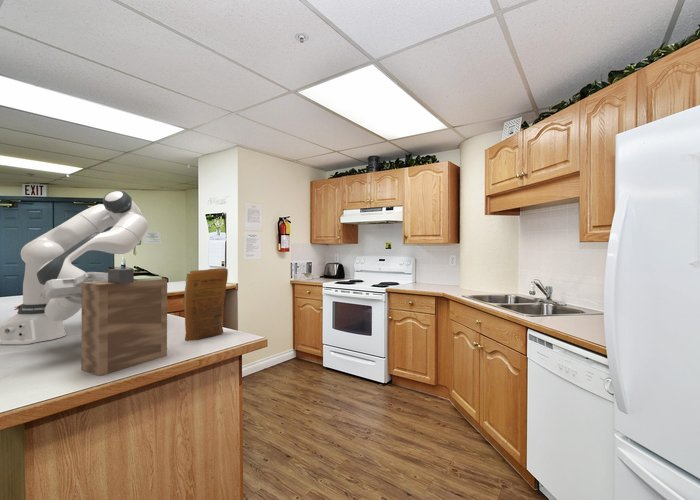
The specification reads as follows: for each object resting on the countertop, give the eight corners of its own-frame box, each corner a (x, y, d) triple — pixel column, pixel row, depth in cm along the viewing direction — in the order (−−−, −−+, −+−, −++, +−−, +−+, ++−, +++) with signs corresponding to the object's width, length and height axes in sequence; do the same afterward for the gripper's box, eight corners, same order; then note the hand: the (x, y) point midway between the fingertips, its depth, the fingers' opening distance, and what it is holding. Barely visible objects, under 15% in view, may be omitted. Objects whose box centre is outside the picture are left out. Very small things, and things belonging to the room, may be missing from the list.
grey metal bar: (81, 279, 103) (81, 267, 103) (96, 278, 107) (96, 266, 107) (119, 283, 94) (119, 270, 94) (133, 282, 98) (133, 269, 98)
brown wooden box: (81, 369, 96) (81, 280, 96) (148, 350, 114) (149, 275, 114) (99, 376, 91) (99, 281, 91) (166, 355, 109) (167, 276, 109)
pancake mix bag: (231, 333, 138) (232, 268, 138) (186, 343, 123) (187, 270, 123) (223, 330, 142) (223, 267, 142) (178, 340, 127) (179, 269, 127)
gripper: (33, 288, 100) (51, 267, 95) (107, 282, 119) (126, 264, 113) (38, 307, 99) (57, 287, 94) (111, 298, 117) (131, 280, 112)
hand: (95, 274), depth 104 cm, fingers closed on grey metal bar, 2 cm apart
